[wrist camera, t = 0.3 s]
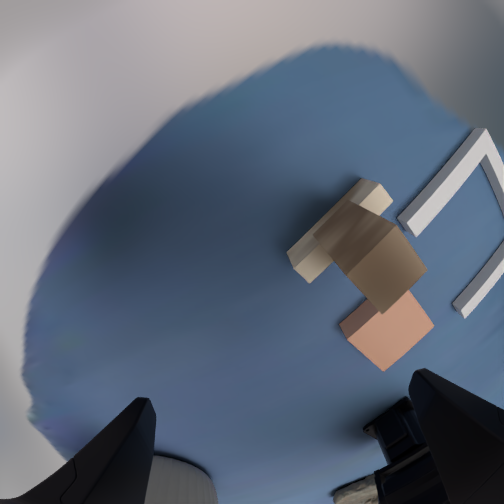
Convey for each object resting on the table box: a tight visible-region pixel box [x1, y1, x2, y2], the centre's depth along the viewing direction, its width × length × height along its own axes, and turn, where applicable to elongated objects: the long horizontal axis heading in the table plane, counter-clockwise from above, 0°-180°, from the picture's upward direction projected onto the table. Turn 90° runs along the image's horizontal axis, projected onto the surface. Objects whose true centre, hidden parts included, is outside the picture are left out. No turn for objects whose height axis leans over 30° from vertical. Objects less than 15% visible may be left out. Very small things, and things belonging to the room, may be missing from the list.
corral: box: [397, 128, 504, 318], centre depth 20 cm, size 13×12×2 cm
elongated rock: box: [333, 474, 378, 504], centre depth 33 cm, size 35×5×10 cm
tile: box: [339, 290, 434, 372], centre depth 23 cm, size 6×6×2 cm
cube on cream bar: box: [286, 178, 427, 315], centre depth 16 cm, size 8×3×9 cm, turn 136°
